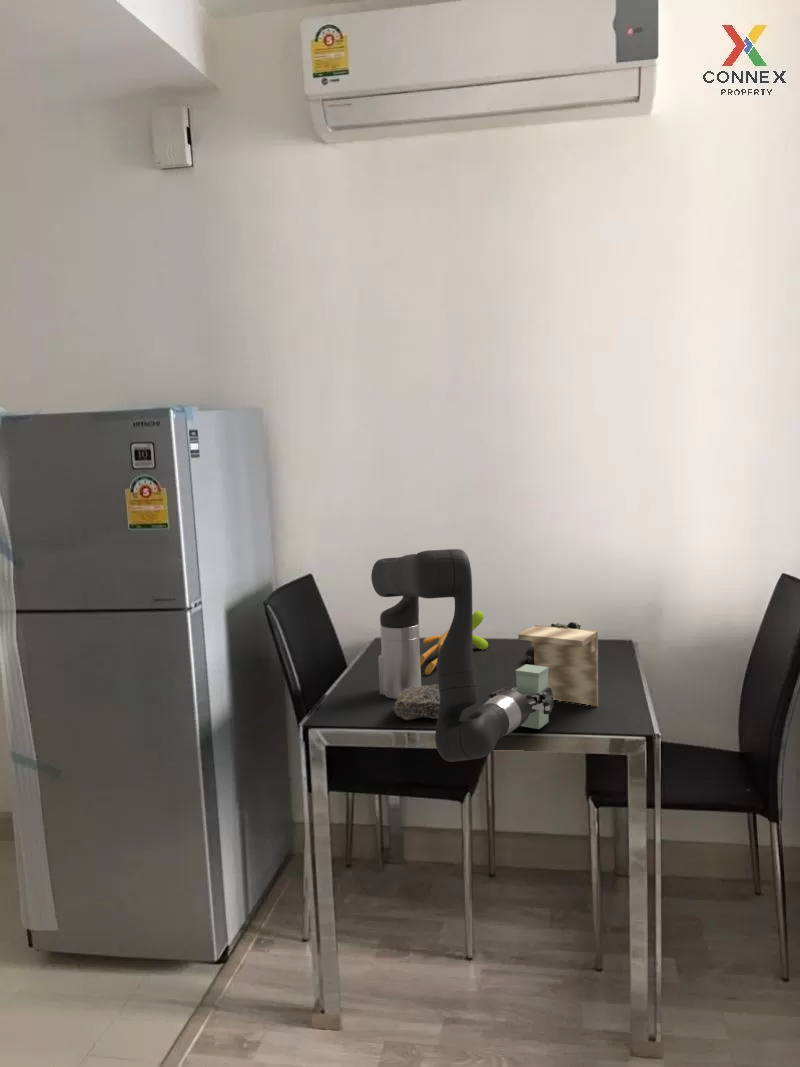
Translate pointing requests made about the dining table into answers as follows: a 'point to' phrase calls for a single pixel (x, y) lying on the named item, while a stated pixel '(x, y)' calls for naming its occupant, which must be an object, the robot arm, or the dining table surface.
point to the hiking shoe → (571, 625)
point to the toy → (476, 640)
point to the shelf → (567, 661)
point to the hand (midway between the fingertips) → (537, 690)
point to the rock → (418, 702)
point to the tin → (533, 681)
